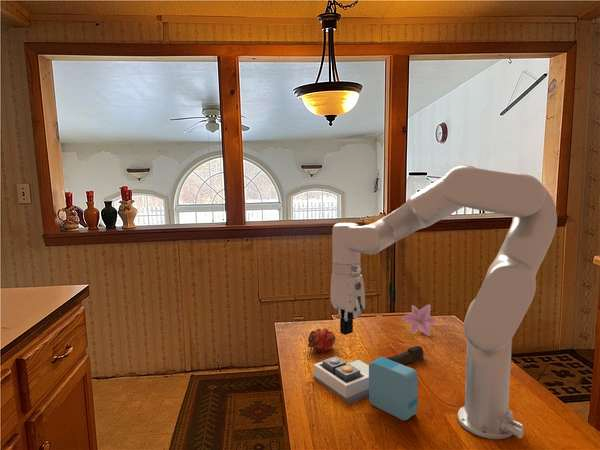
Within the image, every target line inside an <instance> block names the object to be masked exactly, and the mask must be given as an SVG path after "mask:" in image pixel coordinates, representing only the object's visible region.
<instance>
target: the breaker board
mask: <svg viewBox="0 0 600 450" xmlns="http://www.w3.org/2000/svg"><path fill="white" fill-rule="evenodd" d="M347 364H350V365H352V366H354V367H355V368H357V369H359V370H360V378H359V379H356V380H354V381H351V382H348V383H345V382H344V381H342V380H341V379H339V378H338V377H336V376H335V375H333V374H332V373H330V372H329V371H327V370H326V369H324V368H323V360H322V361H320V362H317V363H314V364H313V375H312V378H313V380H315V381H316V382H318V383H319V384H321V385H322V386H324V387H325V388H326V389H327V390H329V391H330V392H331V393H333V394H335V395H336V396H337V397H339V398H340V399H341V400H343V401H344V402H345V403H347V404H349V405H351V404H354V403H357V402H359V401H361V400H363V399H366V398H369V364H367V363H366V362H363V360H360V359H358V358H357V359H355V360H352V361H348V362H347Z"/></svg>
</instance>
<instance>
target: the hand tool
mask: <svg viewBox="0 0 600 450" xmlns="http://www.w3.org/2000/svg"><path fill="white" fill-rule="evenodd" d="M424 356H425V354H424V350H423V347H421V345H420V346H419V345H415V346H412V347H408V348H407V350H406V351H404V352H402V353H399V354H396V355H392V356H389V357H386V358H387V359H389V360H392V361H394V362H397V363H399V364H402V365H404V366H405V365H406V364H416V363H418V362H419V361H421V360H422V359H423V358H424Z"/></svg>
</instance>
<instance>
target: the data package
mask: <svg viewBox="0 0 600 450" xmlns="http://www.w3.org/2000/svg"><path fill="white" fill-rule="evenodd" d="M387 358H388V357H383V356H380V357H378V358H376V359H375V360H373V361H371V362H370V363H369V364H368V365H369V396H368V400H369V402H370V404H371V405H372V406H374V407H376V408H377V409H380V410H382V411H384V412H385V413H387V414H389V415H392V416H394V417H396V418H397V419H399V420H401V421H408V420H409V419H410V418H411V417H413V416H414V415H415V414H417V413H418V404H419V403H418V396H419V395H418V394H419V393H418V392H419V390H418V389H419V375H418V372H417V371H416V370H415V369H414V368H412V367H409V366H408V365H407V366H406V365H405V364H404V365H402V364H399V363H397V362H394V361H392V360H389V359H387Z"/></svg>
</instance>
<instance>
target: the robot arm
mask: <svg viewBox="0 0 600 450" xmlns="http://www.w3.org/2000/svg"><path fill="white" fill-rule="evenodd" d="M463 208H468V209H473V210H476V211H483V212H488V213H494V214H498V215H504V216H508V217H512V221H511V224H510V227H509V229H508V231H507V234H506V235H505V238H504V241H503V242H502V245H501V246H500V249H499V251H498V253H497V254H496V257H495V258H494V260H493V261H492V263H491V264H490V265H489V266H488V269H487V270H486V271H487V272H486V275H485V277H484V280H483V282H482V284H481V286H480V287H479V291H478V293H477V295H476V297H475V298H474V299H473V300H472V301H471V302H470V304H469V306H468V308H467V310H466V315H465V318H464V321H463V332H464V336H465V338H466V353H465V354H466V358H465V359H466V360H465V387H464V392H465V393H464V406H462V407H460V408H459V409H458V412H457V420H458V422H459V424H460V425H461V427H463V428H464V430H466V431H467V432H470V433H471V434H473V435H475V436H478V437H482V438H484V439H485V438H486V439H490V440H503V439H507V438H510V437H511V436H515V437H517V438H519V439H522V438H523V436H524V427H525V426H524V424H523V423H521V422H520V421H516V420H515V419H514V412H513V410H510V409H509V406H510V405H509V404H510V401H509V399H510V383H511V381H510V380H511V366H512V365H511V364H512V363H511V361H512V345H513V344H512V342H513V337H514V336H515V333H516V332H517V330H518V329H519V326H520V325H521V323H522V321H523V319H524V317H525V315H526V314H527V312H528V309H529V308H530V307H531V305H532V302H533V300H534V298H535V295H536V292H537V291H536V290H537V281H536V277H537V273H538V271H539V269H540V267H541V264H542V263H543V261H544V259H545V256H546V254H547V252H548V250H549V248H550V246H551V243H552V242H553V239H554V237H555V233H556V229H557V225H558V214H557V208H556V204H555V201H554V199H553V197H552V195H551V193H550V192H549V191H548V190H547V188H546V187H545V186H544V185H543V183H541V181H540V180H539V179H538V178H536V177H534V176H532V175H530V174H526V173H520V174H517V173H509V172H503V171H496V170H490V169H484V168H479V167H478V168H477V167H475V166H472V165H459V166H456V167H453V168H451V169H450V170H449V171H448V172H447V173H445V175H444V176H442V177H440V178H439V179H437V180H436V181H434V182H432V183H431V184H429V185H427V186H425V187H424V188H422V189H421V190H419V191H417V192H415V193H414V194H413V195H411V196H410V197H409V198H408V199H406V201H405V203H404V204H402V205H401V206H400V207H397V208H396V209H395V210H393V211H392V212H391V213H389V214H387V215H385V216H383V217H382V218H380V219H378V220H376V221H374V222H371V223H369V224H365V225H360V224H358V223H356V222H347V221H346V222H337V223H335V224H334V225H333V227H332V231H331V232H332V233H331V234H332V273H331V278H330V303H331V304H332V306H333V308H334V309H335V310H336V311H337V313H338V319H339V326H340V327H339V328H340V329H339V331H340V334H343V335H349V334H352V333H353V331H354V320H355V318H357V319H358V318H360V317H362V313H361V311H363V310H365V309H366V293H365V282H364V278H363V275H362V274H361V272H362V268H361V254H364V255H365V254H366V255H375V254H379V253H380V252H381V251H383V250H384V249H386V248H388V247H390V246H392V245H393V244H396V242H398V241H399V240H402V239H404V238H405V237H407V236H409V235H411V234H413V233H415V232H416V231H418V230H422V229H425V228H428V227H430V226H432V225H434V224H436V223H437V222H439V221H441V220H443V219H445V218H446V217H448V216H450V215H452V214H454V213H455V212H458V211H459V210H461V209H463Z"/></svg>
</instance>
